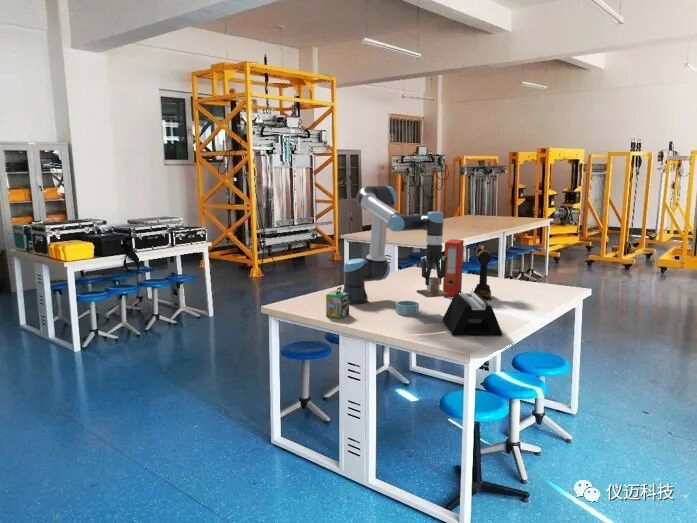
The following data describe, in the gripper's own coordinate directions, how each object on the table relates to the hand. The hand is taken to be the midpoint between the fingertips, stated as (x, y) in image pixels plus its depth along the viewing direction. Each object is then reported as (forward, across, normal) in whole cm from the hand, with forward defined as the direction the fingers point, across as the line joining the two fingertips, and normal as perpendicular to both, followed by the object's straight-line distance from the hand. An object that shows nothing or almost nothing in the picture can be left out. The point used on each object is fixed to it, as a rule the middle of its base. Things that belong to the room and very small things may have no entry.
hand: (433, 291), depth 275 cm
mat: (+14, 0, 0) cm, 14 cm away
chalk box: (+15, -42, +22) cm, 50 cm away
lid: (+1, 0, 0) cm, 1 cm away
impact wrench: (+15, +52, +39) cm, 67 cm away
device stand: (+14, +10, -20) cm, 27 cm away
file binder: (+15, +37, +49) cm, 63 cm away
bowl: (+14, -7, +15) cm, 22 cm away
